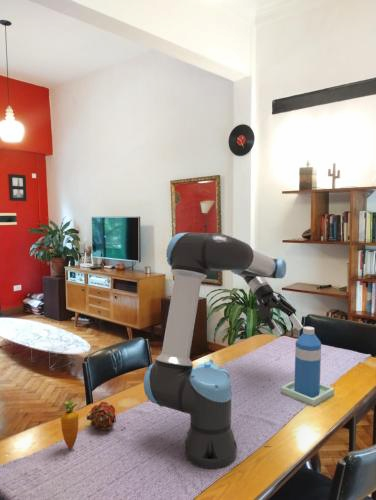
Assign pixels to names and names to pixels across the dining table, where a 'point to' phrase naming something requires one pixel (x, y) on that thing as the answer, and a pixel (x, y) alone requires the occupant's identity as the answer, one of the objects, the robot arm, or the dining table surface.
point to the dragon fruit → (102, 416)
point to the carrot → (69, 424)
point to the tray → (323, 395)
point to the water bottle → (308, 363)
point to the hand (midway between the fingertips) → (290, 332)
